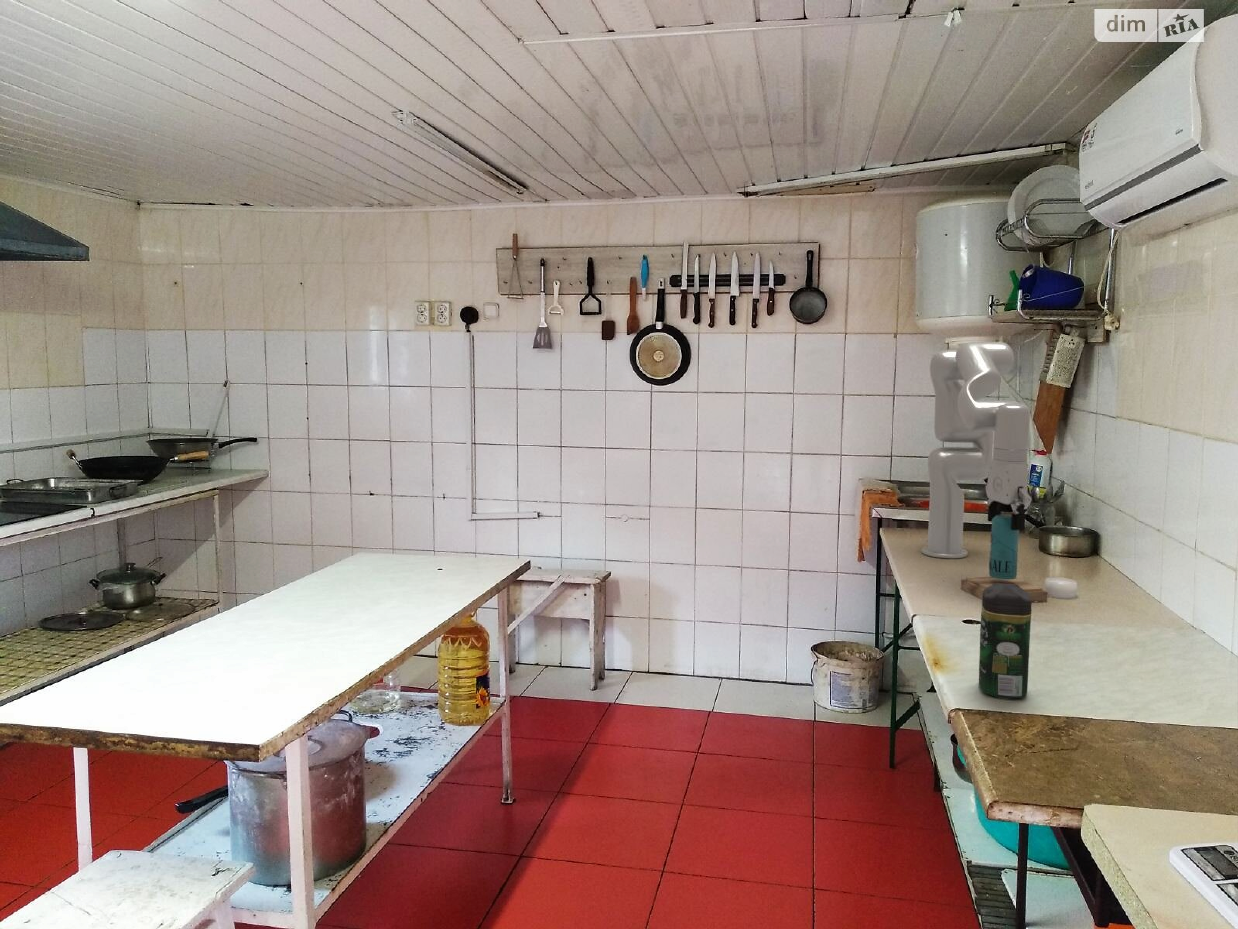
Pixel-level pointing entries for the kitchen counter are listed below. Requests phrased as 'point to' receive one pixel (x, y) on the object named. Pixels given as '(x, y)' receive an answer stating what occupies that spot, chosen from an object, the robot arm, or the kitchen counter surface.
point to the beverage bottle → (1003, 546)
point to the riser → (980, 583)
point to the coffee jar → (1005, 641)
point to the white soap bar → (1061, 587)
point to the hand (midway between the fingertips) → (1005, 525)
